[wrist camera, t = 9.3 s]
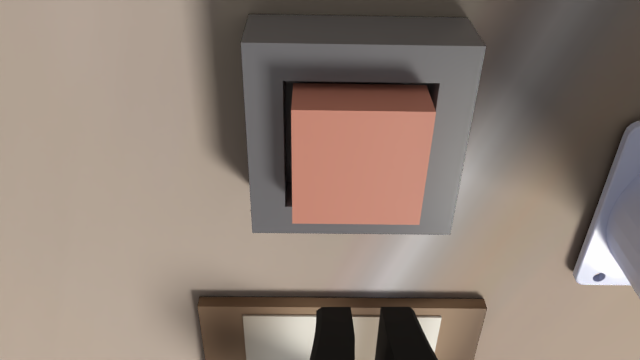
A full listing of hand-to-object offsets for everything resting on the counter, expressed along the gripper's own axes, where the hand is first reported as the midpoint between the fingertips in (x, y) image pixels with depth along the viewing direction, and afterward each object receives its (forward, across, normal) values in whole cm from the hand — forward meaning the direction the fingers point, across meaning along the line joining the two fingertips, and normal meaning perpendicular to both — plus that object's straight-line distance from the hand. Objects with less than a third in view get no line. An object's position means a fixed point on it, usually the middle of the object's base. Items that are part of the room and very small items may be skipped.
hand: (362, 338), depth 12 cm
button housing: (+10, 0, 0) cm, 10 cm away
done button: (+8, 0, 0) cm, 8 cm away
